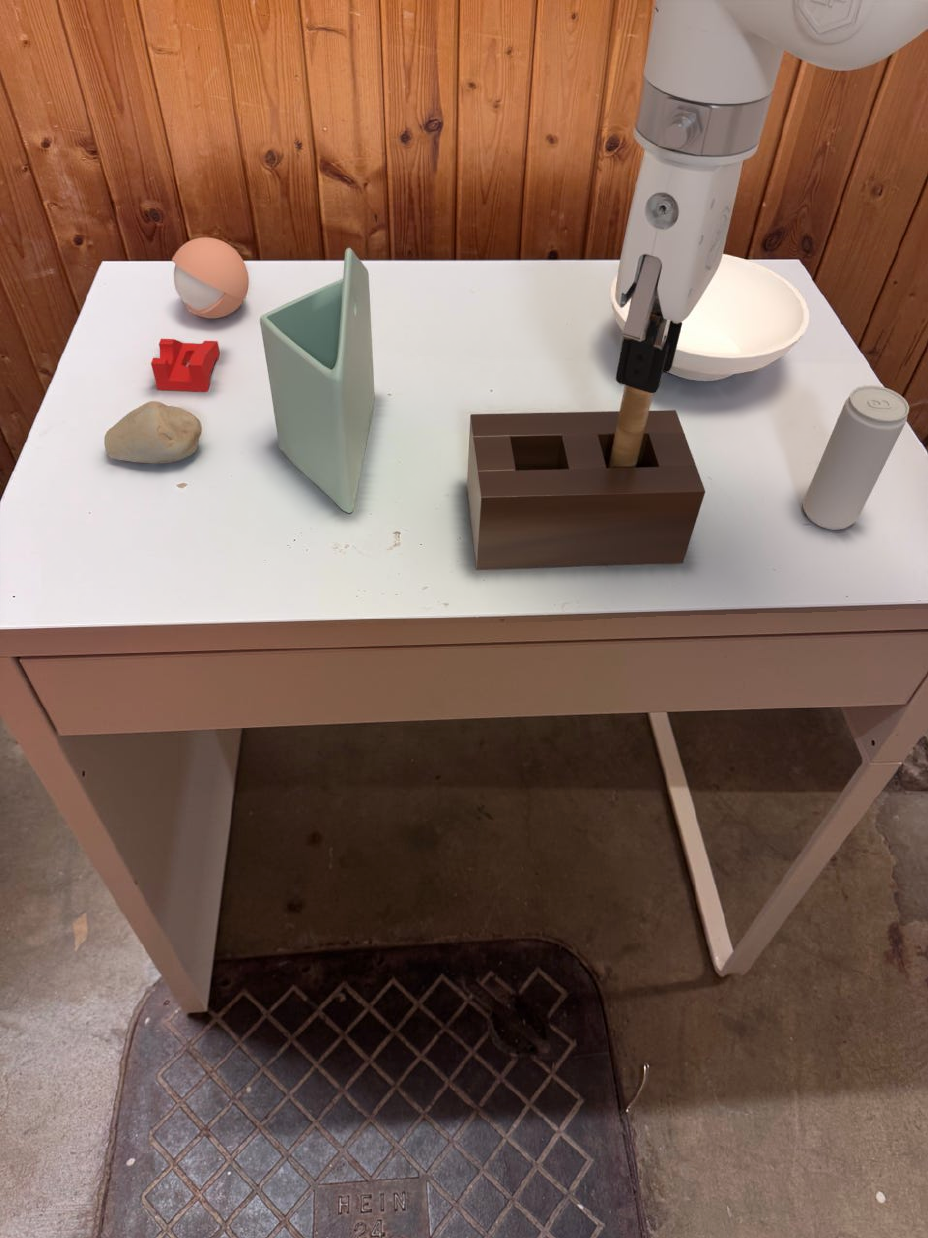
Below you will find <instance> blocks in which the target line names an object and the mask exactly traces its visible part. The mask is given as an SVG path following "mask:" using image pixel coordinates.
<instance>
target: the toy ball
mask: <svg viewBox="0 0 928 1238" xmlns="http://www.w3.org/2000/svg"><path fill="white" fill-rule="evenodd" d="M171 261H172V262H173V263H174V264H175V265H174V267H173V285H174V289H175V291H176V294H177V295H178V297H179V298H180V299H181V301H183V304H184V306H185V308H186V309H187V310H188V311H189V312H190V313H192V314H194V315H196V316H199V317H201V318H205V319H221V318H224V317H227V316H229V315H231V314H233V313H234V312H235V311H237V310H238V309H239V308H240V307H241V306H242V304H243V302H244V300H245V299H246V298H247V294H248V292H249V286H250V284H249V283H250V278H249V272H248V268H247V266H246V263H245V261H244V260H243V258H242V256H241V255H240V254H239V253H238V251H237V250H236V249H235V248H234V247H233V246H231V245H230V244H228V243H227V242H225V241H223V240H221V239H218V238H214V237H209V236H208V237H205V236H203V237H197V238H194V239H191V240H189V241H187V242H185V243H184V244H183V245H181V246H180V247H179V248H178V249H177V250H176V251H175V253H174V255H173V256H172V259H171Z"/></svg>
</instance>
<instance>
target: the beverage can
mask: <svg viewBox="0 0 928 1238" xmlns="http://www.w3.org/2000/svg"><path fill="white" fill-rule="evenodd" d="M909 412H910V406H909V403H908V401H907V400H906V399H905V398H904V397H903V396H902V395H901V394H900V393H898V392H897V391H894V390H893V389H890V388H887V387H884V386H880V385H871V384H870V385H862V386H858V387H856V388H854V389H853V390H852V391H851V392H850V393H849V396H848V397H847V399H845V401H844V403H843V406H842V409H841V410H840V413H839V415H838V418H837V420H836V423H835V425H834V428H833V430H832V432H831V434H830V437H829V439H828V441H827V444H826V446H825V449H824V450H823V453H822V455H821V458H820V460H819V463H818V465H817V468H816V470H815V472H814V474H813V477H812V478H811V482H810V483H809V487H808V489H807V491H806V494H805V495H804V498H803V503H802V507H803V511H804V513H805V515H806V516H807V518H808V519H809V520H810V521H811V523H814V524H815V525H816V526H818V527H821V528H823V529H827V530H832V531H837V530H843V529H847V528H848V527H850V526H852V525H854V524H855V523H856V522H857V521H858V520H859V517H860V515H861V514H862V511H863V509H864V508H865V505H866V503H867V502H868V499H869V498H870V495H871V493H872V491H873V489H874V487H875V485H876V483H877V482H878V479H879V478H880V476H881V473H882V471H883V469H884V467H885V465H886V463H887V461H888V460H889V457H890V455H891V454H892V451H893V449H894V447H895V445H896V443H897V441H898V439H899V437H900V435H901V433H902V431H903V429H904V427H905V425H906V423H907V420H908V414H909Z"/></svg>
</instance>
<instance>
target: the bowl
mask: <svg viewBox="0 0 928 1238" xmlns="http://www.w3.org/2000/svg"><path fill="white" fill-rule="evenodd" d="M617 276H618V273H617V274H616V275H615V276H614V278H613V279H612V282H611V286H610V291H609V292H610V304H611V309H612V314H613V316H614V319H615V320H616V323H617V326H619V328H620V330H621V331H622V332H623V330H624V327H625V323H626V320H627V316H628V312H629V307H630V302H631V299H630V300H629V301H628V303H627V304H626V305H625V306H624V307H622V308H621V307H620V306H619V305H618V304H617V302H616V299H615V292H616V283H617ZM809 324H810V311H809V306H808V304H807V300H805V298H804V296H803V295H802V294H801V293H800V291H799V290H798V289H797V288H796V286H794V285H793V284H792V283H791V282H790V281H788V280H787V279H786V278H784V277H782V275H780V274H778V273H777V272H775V271H773V270H771V269H769V268H767V267H765V266H763V265H761V264H758V263H756V262H753V261H750V260H747V259H745V258H741V257H739V256H735V255H730V254H727V253H723V256H722V259H721V262H720V265H719V267H718V270H717V271H716V273H715V275H714V277H713V279H712V280H711V282H710V283H709V285H708V287H707V288H706V290H705V292H704V293H703V295H702V296H701V298H700V300H699V301H698V303H697V304H696V306H695V307H694V309H693V310H692V312H691V313H690V315H689V316H688V317H687V318H686V319H685V320H684V321H682V327H681V331H680V335H679V340H678V344H677V348H676V352H675V356H674V360H673V364H672V367H671V369H670V370H669V371H668V372H667V373H669V374H671V375H673V376H676V377H679V378H682V379H685V380H691V381H695V382H715V381H719V380H723V379H724V380H725V379H727V378H729V377H731V376H733V375H737V374H742V373H748V372H753V371H756V370H759V369H761V368H765V367H766V366H768V365H770V364H772V363H773V362H775V361H776V360H778V359H779V358H781V357H783V356H785V355H786V354H787V353H788V352H789V351H790V350H791V349H793V348H794V346H796V344H797V343H798V342H799V341H800V340H801V339H802V338H803V336H804V334H805V333H806V330H807V328H808V325H809Z"/></svg>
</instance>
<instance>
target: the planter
mask: <svg viewBox="0 0 928 1238" xmlns="http://www.w3.org/2000/svg"><path fill="white" fill-rule="evenodd" d="M342 275H343V276H342V278H341V279H338V280H335V281H334V282H332V283H329V284H327V285H325V286H322V287H320V288H317V289H316V290H313V291H311V292H308V293H306V294H304V295H301V296H300V297H298V298H295V299H293V300H291V301H289V302H286V303H285V304H282V305H280V306H278V307H276V308H274V309H272V310H270V311H268V312H266V313H264V314H262V315H261V316H260V318H259V323H260V330H261V337H262V344H263V350H264V357H265V363H266V370H267V375H268V381H269V387H270V395H271V401H272V408H273V414H274V421H275V427H276V434H277V441H278V442H277V443H278V448H279V449H280V450H281V451H282V452H283V454H284V455H285V456H286V457H287V458H288V460H289V461H290V462H291V463H292V465H294V466H295V467H296V468H297V469H298V470H299V471H300V472H302V474H304V476H306V477H307V478H308V480H310V481H311V482H313V484H315V485H316V486H317V487H318V488H319V489H320V490H321V491H323V492H324V493H325V494H326V496H328V497H329V498H330V499H331V500H332V501H333V502H334V503H335V504H336V505H337V506H338V507H339V508H340V509H341V510H342V511H343V512H345V513H348V514H351V513H352V512H354V509H355V504H356V499H357V494H358V488H359V484H360V478H361V474H362V469H363V463H364V459H365V454H366V448H367V444H368V438H369V433H370V427H371V423H372V417H373V413H374V408H375V401H376V396H375V395H376V393H375V374H374V355H373V354H374V353H373V333H372V330H373V329H372V312H371V310H372V309H371V293H370V292H371V291H370V290H371V289H370V277H369V271H368V268H367V267H366V266H365V265H364V263H363V262H362V261H361V260H360V258H359V257H358V256H357V255H356V253H355V251H354V250H353V249H352V248H351V247H347V248H346V249H345V251H344V263H343V274H342Z"/></svg>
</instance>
